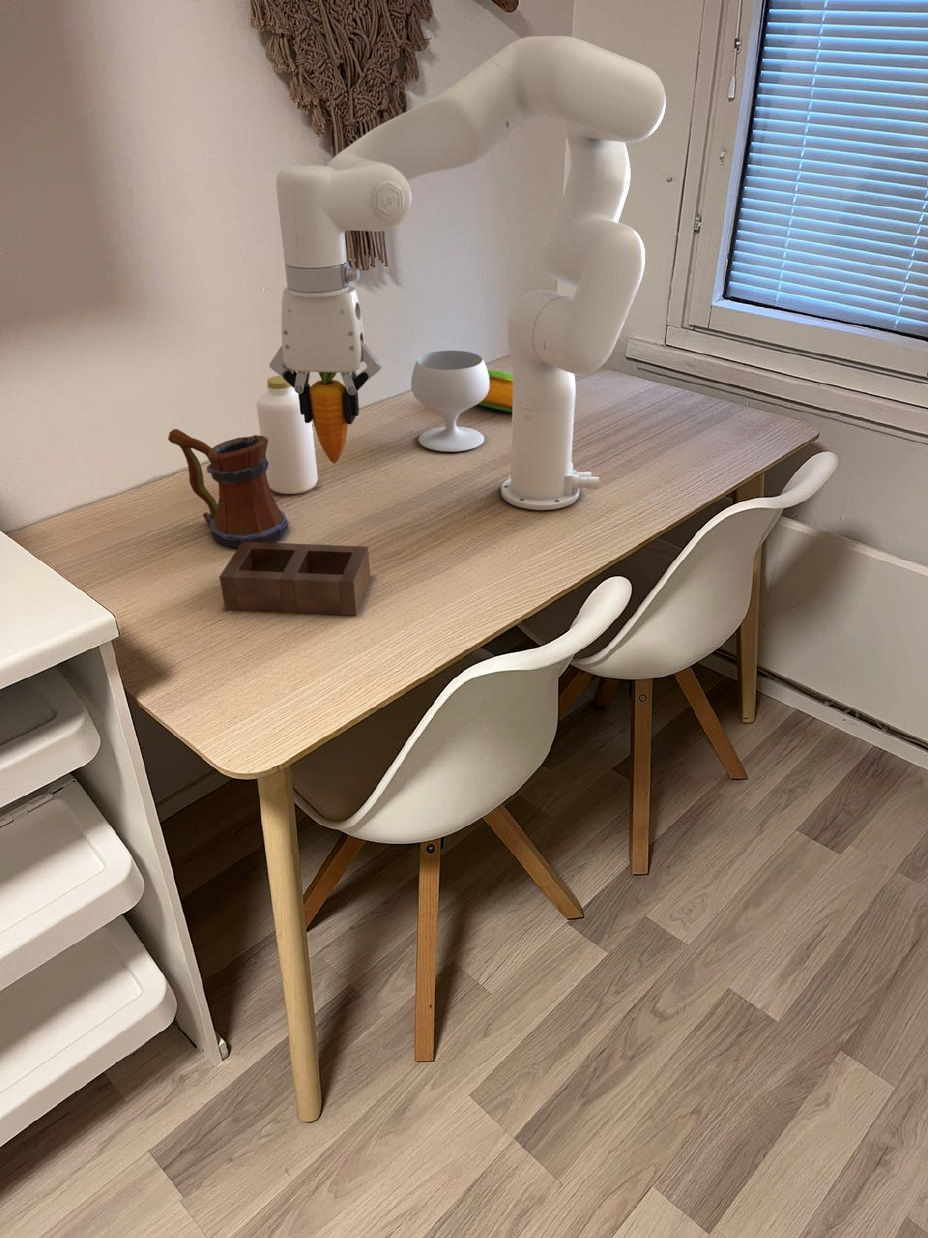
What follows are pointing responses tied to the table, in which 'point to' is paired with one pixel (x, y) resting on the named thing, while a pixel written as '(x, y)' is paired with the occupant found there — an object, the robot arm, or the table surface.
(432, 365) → the chalice
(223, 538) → the mug
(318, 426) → the carrot
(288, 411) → the white bottle
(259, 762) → the table surface
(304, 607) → the holder
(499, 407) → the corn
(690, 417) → the table surface
